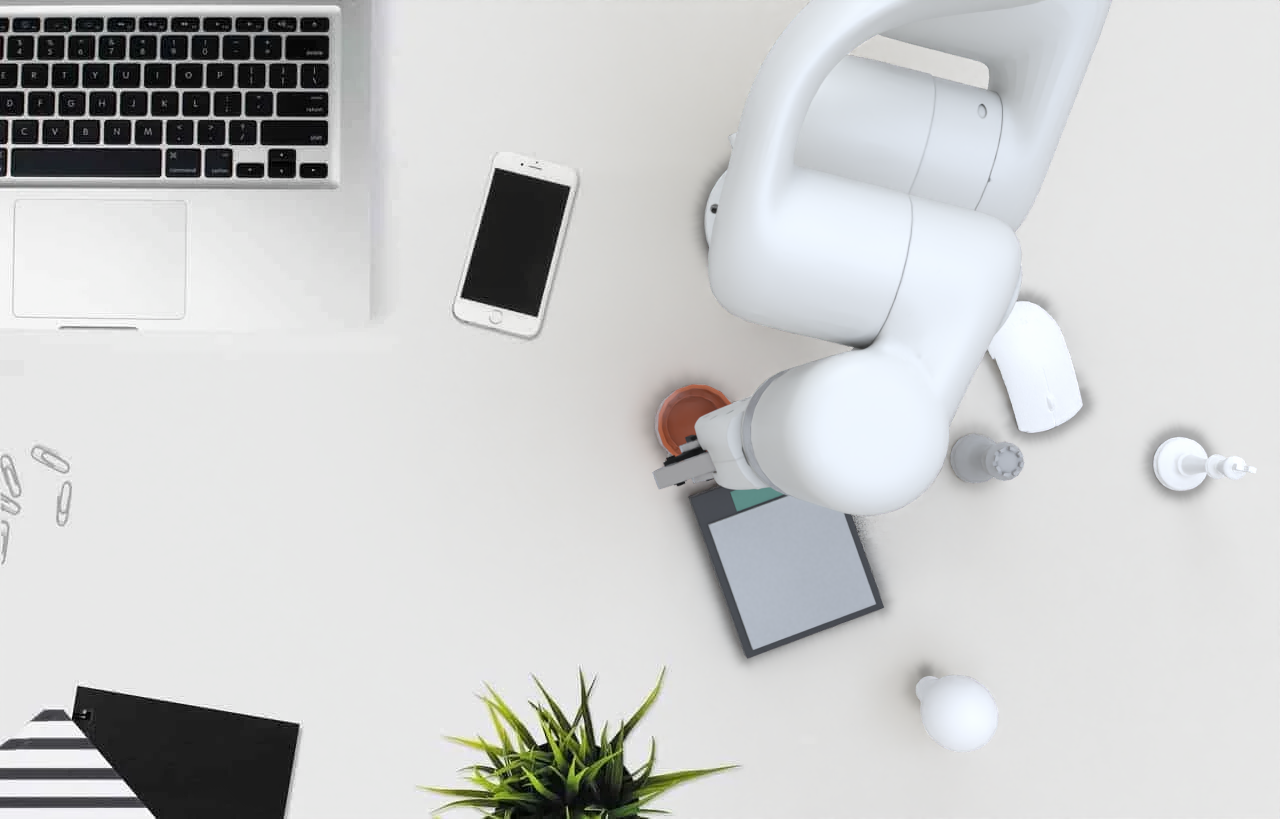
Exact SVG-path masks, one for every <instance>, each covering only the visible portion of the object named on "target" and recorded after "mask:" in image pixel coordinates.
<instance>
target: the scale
mask: <svg viewBox="0 0 1280 819" xmlns="http://www.w3.org/2000/svg"><path fill="white" fill-rule="evenodd" d="M688 500H689V503H690V506H691V509H692V511H693V515H694V517H695V520H696V523H697V526H698V529H699V531H700V534H701V537H702V540H703V542H704V545H705V548H706V551H707V554H708V556H709V560H710V562H711V565H712V568H713V571H714V574H715V576H716V579H717V582H718V585H719V587H720V590H721V593H722V596H723V599H724V602H725V604H726V607H727V610H728V614H729V616H730V619H731V622H732V625H733V627H734V629H735V632H736V635H737V639H738V641H739V644H740V646H741V649H742V652H743V655H744V656H745V658H746V659H750V658H753V657H756V656H759V655H761V654H762V655H763V654H764V653H767V652H770V651H772V650H775V649H778V648H781V647H783V646H785V645H788V644H791V643H793V642H797V641H799V640H802V639H805V638H807V637H810V636H812V635H816V634H817V633H820V632H823V631H826V630H828V629H829V630H830V629H831V628H834V627H836V626H839V625H842V624H845V623H848V622H850V621H853V620H855V619H858V618H861V617H863V616H866V615H869V614H871V613H874V612H877V611H880V610H883V609H885V605H884V603H883V600H882V597H881V594H880V591H879V589H878V586H877V583H876V579H875V576H874V574H873V571H872V568H871V566H870V563H869V560H868V557H867V555H866V552H865V549H864V547H863V544H862V540H861V537H860V535H859V532H858V529H857V526H856V524H855V521H854V518H853V515H852V514H846V513H842V512H838V511H835V510H832V509H829V508H826V507H823V506H819V505H816V504H813V503H810V502H807V501H804V500H800V499H797V498H794V497H791V496H787V495H785V494H782V493H780V492H778V491H776V490H774V489H772V488H771V487H768V488H761V489H748V490H734V489H728V488H724V487H722V486H720V485H716V486H714V487H711V488H709V489H706V490H703V491H701V492H697V493H695V494H692V495H689V496H688Z"/></svg>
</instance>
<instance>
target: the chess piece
mask: <svg viewBox="0 0 1280 819" xmlns="http://www.w3.org/2000/svg"><path fill="white" fill-rule="evenodd" d="M1152 466H1153V472H1154V475H1155V477H1156V479H1157V480H1158V482H1159V483H1160V484H1162V485H1163V486H1164V487H1165V488H1167V489H1169V490H1172V491H1175V492H1182V491H1190V490H1192V489H1195V488H1196V487H1198V486H1200V485H1201V484H1202V482H1204V480H1205V479H1206V477H1207V476H1209V477H1210V478H1211V479H1212V480H1213V479H1214V480H1221V479H1223V478H1227V479H1229V480H1232V481H1238V480H1242V478H1244V477H1245V475H1246V473H1250V474H1256V473H1257V467H1255V466H1251V465H1247V463H1246V461H1245V459H1244V458H1242V457H1241V456H1238V455H1231V456H1229V457H1226V456H1224V455H1222V454H1219V453H1217V454H1212V455H1210V456H1209V457H1208V454H1207V452H1206V450H1205V449H1204V446H1202V445H1201V444H1200V443H1198V442H1197V441H1196V440H1194V439H1191V438H1188V437H1183V436H1176V437H1175V436H1174V437H1171V438H1169V439H1167V440H1165V441H1163V442H1162V443H1161V444H1160V445H1159V446H1158V447H1157V449H1156V451H1155V453H1154V456H1153V461H1152Z"/></svg>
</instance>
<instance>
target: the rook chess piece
mask: <svg viewBox="0 0 1280 819" xmlns="http://www.w3.org/2000/svg"><path fill="white" fill-rule="evenodd" d="M949 459H950V466H951V468H952V470H953V472H954V474H955V476H957V478H959V479H960V480H962V481H964V482H966V483H971V484H980V483H987V482H988V481H990V480H991V479H993V478H994V479H996V480H999V481H1003V482H1007V481H1011V480H1013V479H1015V478H1016V477H1018V476H1019V475H1020V473H1021V472H1022V471H1023V469H1024V466H1025V464H1026V463H1025V460H1024V459H1025V458H1024V454H1023V452H1022V450H1021V449H1020V447H1018V446H1017V445H1016V444H1014V443H1013V442H1009V441H1001V442H996V441H995V440H993V439H992V438H990V437H989V436H987V435H982V434H978V433H970V434H965V435H964V436H962V437H961V438H959V439H958V440H957V441H956V442H955V444H953V446H952V449H951V451H950V456H949Z"/></svg>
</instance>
